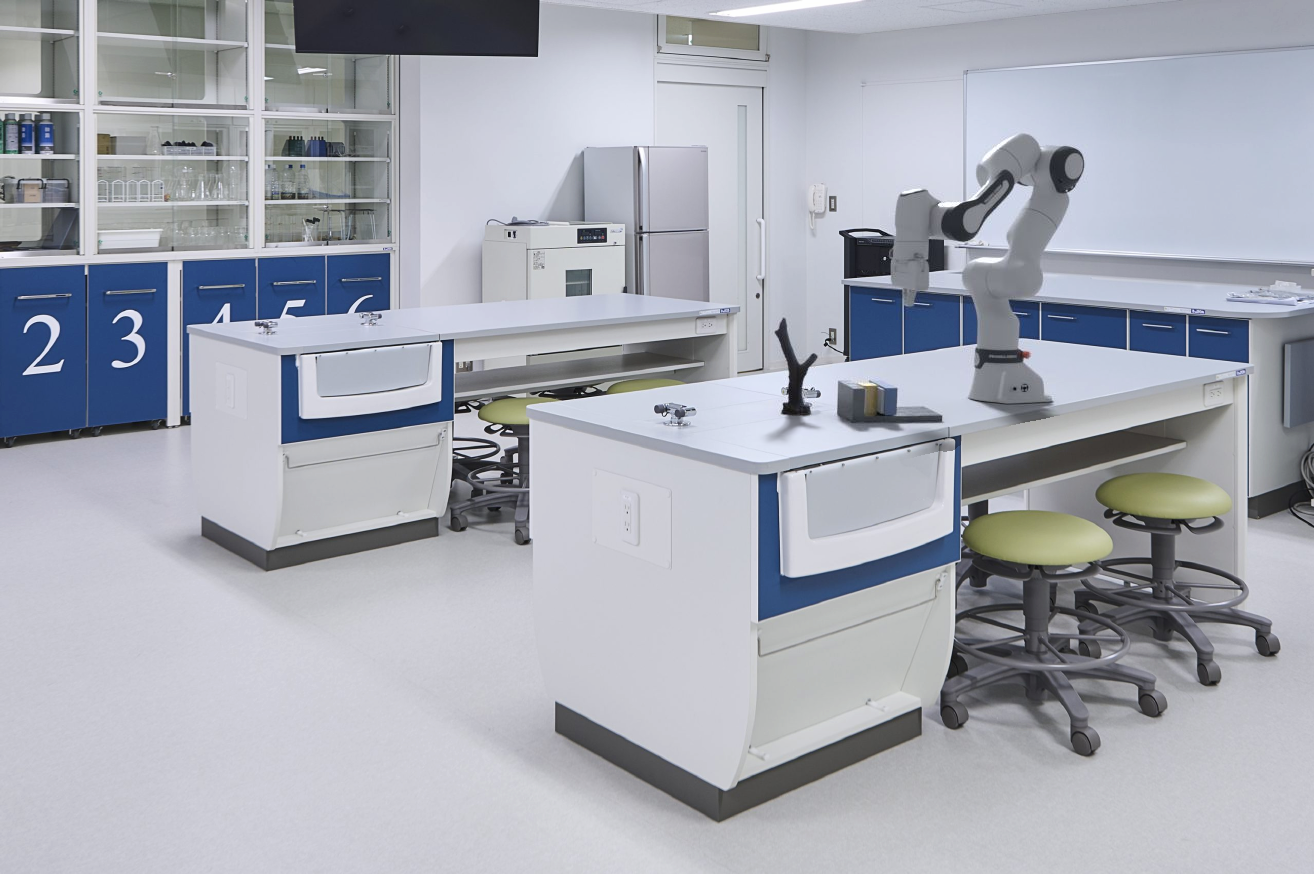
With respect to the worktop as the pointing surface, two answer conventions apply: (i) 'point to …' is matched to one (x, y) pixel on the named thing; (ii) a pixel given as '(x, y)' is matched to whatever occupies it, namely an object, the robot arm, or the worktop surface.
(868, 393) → the brass block
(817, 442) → the worktop surface
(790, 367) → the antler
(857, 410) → the base
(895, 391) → the sliding jaw
